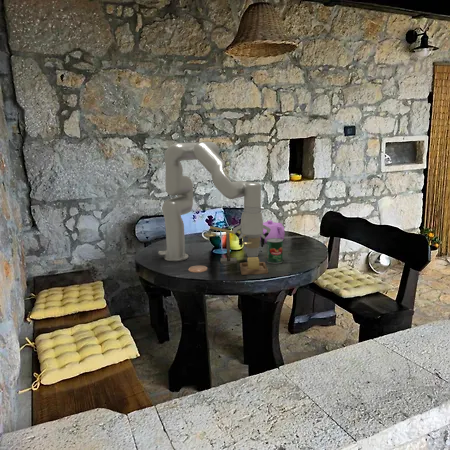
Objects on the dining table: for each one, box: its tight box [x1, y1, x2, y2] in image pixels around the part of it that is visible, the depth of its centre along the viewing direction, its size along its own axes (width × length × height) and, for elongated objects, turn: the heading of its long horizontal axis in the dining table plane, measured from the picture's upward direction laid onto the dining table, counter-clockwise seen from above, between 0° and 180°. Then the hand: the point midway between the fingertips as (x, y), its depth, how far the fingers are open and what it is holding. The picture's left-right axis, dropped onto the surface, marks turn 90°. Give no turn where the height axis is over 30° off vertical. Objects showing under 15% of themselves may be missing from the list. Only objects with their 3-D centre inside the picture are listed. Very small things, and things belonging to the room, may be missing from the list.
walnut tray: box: [239, 261, 269, 276], centre depth 188 cm, size 12×12×2 cm
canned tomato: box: [266, 238, 284, 265], centre depth 200 cm, size 8×8×11 cm
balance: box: [203, 225, 252, 265], centre depth 201 cm, size 23×6×18 cm, turn 92°
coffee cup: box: [245, 235, 261, 258], centre depth 212 cm, size 9×9×15 cm
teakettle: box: [260, 219, 286, 244], centre depth 244 cm, size 17×17×12 cm
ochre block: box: [246, 256, 260, 270], centre depth 188 cm, size 5×5×5 cm
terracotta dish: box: [188, 265, 208, 273], centre depth 192 cm, size 9×9×1 cm
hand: (251, 246), depth 187 cm, fingers open, 9 cm apart
